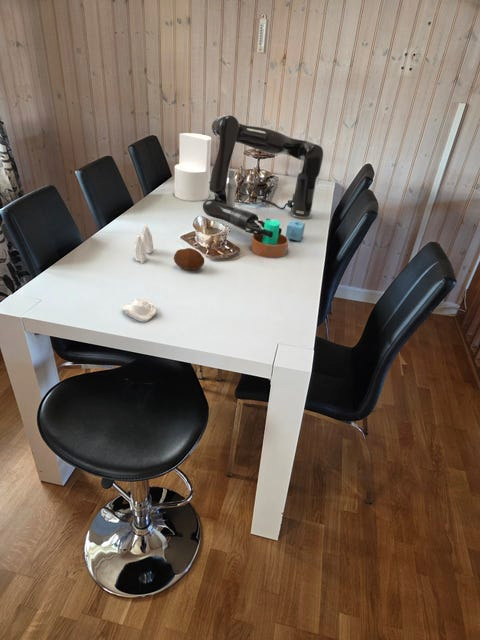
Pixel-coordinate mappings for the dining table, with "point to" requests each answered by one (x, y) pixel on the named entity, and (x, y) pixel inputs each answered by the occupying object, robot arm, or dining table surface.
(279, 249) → the pot
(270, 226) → the candle
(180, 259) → the potato
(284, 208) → the robot arm
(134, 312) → the rose
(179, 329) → the dining table surface
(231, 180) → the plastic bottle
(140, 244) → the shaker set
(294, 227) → the teapot
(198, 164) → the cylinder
